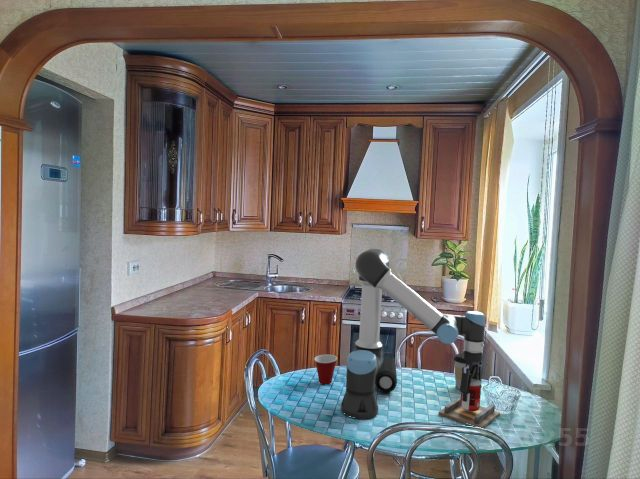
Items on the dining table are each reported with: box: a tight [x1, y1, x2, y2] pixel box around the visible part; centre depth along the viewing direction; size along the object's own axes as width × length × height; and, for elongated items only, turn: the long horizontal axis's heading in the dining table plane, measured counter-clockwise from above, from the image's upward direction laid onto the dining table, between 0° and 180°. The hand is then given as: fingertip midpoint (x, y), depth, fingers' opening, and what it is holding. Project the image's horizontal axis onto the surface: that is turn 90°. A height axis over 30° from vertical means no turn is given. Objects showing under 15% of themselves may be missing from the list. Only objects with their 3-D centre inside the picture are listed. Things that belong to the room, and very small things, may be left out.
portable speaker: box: [375, 356, 398, 393], centre depth 221 cm, size 26×10×10 cm, turn 172°
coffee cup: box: [453, 353, 466, 390], centre depth 219 cm, size 9×9×15 cm
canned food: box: [459, 378, 482, 411], centre depth 190 cm, size 8×8×11 cm
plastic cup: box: [313, 353, 338, 385], centre depth 219 cm, size 11×11×12 cm
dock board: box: [438, 396, 501, 429], centre depth 190 cm, size 18×18×4 cm
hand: (469, 405), depth 190 cm, fingers closed on canned food, 8 cm apart
